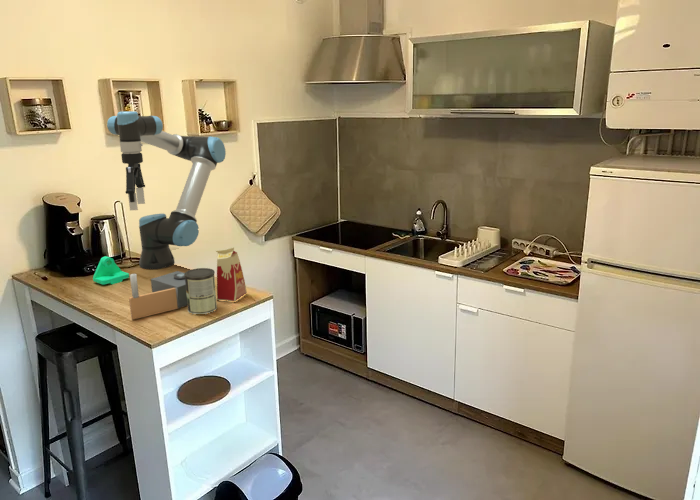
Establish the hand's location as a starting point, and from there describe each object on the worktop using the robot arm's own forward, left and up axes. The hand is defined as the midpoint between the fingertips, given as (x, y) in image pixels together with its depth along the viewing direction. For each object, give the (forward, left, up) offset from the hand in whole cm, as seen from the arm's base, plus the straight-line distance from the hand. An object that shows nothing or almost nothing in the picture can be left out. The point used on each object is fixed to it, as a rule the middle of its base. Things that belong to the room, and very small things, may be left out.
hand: (137, 206), depth 213 cm
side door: (+18, +33, -31) cm, 49 cm away
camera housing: (+4, +27, -32) cm, 42 cm away
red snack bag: (-8, +42, -32) cm, 53 cm away
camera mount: (+7, -13, -32) cm, 35 cm away
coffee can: (+6, +43, -32) cm, 54 cm away
